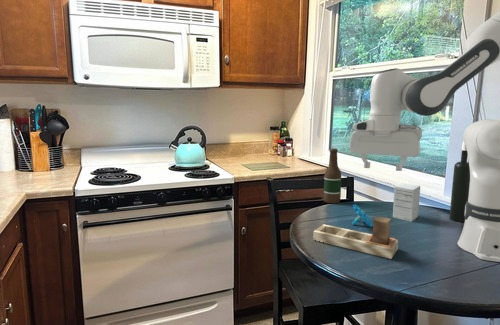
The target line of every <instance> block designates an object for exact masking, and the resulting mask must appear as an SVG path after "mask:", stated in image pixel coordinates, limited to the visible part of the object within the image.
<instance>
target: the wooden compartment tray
mask: <svg viewBox="0 0 500 325" xmlns="http://www.w3.org/2000/svg"><path fill="white" fill-rule="evenodd" d="M312 233H313V236H312V237H313V238H312V240H313V241H315V240H316V242H319V241H320V243H323V242H324V244H328V245H332V246H336V247H340V248H344V249H349V250H353V251H356V252H360V253H361V252H362V253H365V254H369V255H374V256H377V257H383V258H384V259H385V258H386V259H390V260H391V259H392V258H393V257H394V256H395V254H396V253H397V251H398V250H399V248H398V247H399V239H396V238H393V237H390V240H389V244H388V245H383V244H379V243H374V242H372V238H373V233H368V232H362V231H357V230H353V229H349V228H342V227H338V226H334V225H328V224H324V223H323V224H321V225H320V226H319V227H318V228H316V229H314V230H313V232H312Z"/></svg>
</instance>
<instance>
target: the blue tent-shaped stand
mask: <svg viewBox="0 0 500 325" xmlns="http://www.w3.org/2000/svg"><path fill="white" fill-rule="evenodd" d="M352 207H353V210H354V211H355V212H356V214H357V217H356V218H355V219H354V221H352V222H351V224H352V226H355V225H356V224H357V223H358V222H359V221H360V222H361V221H364V222H365V224H366V225H367V226H369V227H370V228H373V221H371V219H370V217H369V216H367V214H366V213H365V210H362V209H361V208H360V207H358V205H357V204H353V205H352Z"/></svg>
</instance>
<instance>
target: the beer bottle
mask: <svg viewBox="0 0 500 325" xmlns="http://www.w3.org/2000/svg"><path fill="white" fill-rule="evenodd" d="M338 152H339V150H338V148H329V159H328V160H329V161H328V167H327V168H326V170H325V172H324V176H323V178H324V180H323V202H324V203H327V204H340V202H341V196H342V193H341V192H342V172H341V171H342V170H340V168H339V165H338Z"/></svg>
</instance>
